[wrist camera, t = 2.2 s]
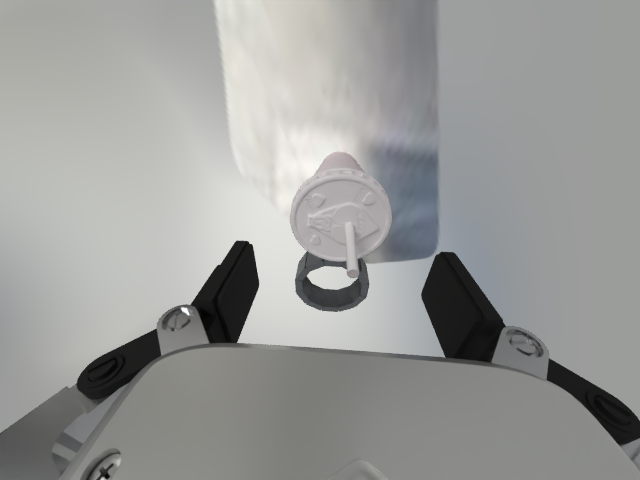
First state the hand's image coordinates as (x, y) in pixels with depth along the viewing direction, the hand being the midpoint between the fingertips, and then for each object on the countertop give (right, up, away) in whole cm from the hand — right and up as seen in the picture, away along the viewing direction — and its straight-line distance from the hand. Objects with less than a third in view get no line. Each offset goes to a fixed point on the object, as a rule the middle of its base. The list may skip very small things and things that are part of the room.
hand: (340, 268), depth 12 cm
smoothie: (+1, +8, +10) cm, 13 cm away
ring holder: (0, -3, +18) cm, 18 cm away
